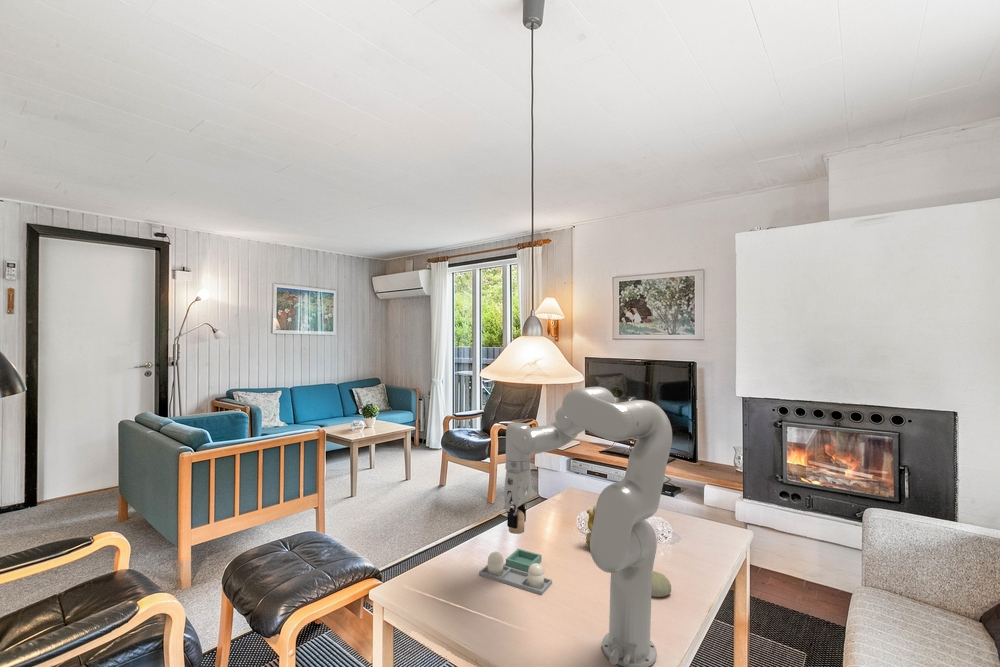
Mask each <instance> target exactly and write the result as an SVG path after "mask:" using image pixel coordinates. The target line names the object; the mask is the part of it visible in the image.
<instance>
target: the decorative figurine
mask: <svg viewBox="0 0 1000 667" xmlns="http://www.w3.org/2000/svg"><path fill="white" fill-rule="evenodd" d="M595 509H596V504H595V505H594V506H593V507H592V509H591V508H589V509H587V510H586V514H588V519H587V526H588V527H587V528H588V530H589V532H587V533H586V536H585V539H586V540H585V544H586V545H587V546H588V547H589V548H590V537H591V531H592V526H593V520H594V515H595Z"/></svg>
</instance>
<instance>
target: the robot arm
mask: <svg viewBox="0 0 1000 667" xmlns="http://www.w3.org/2000/svg"><path fill="white" fill-rule="evenodd" d="M562 399H563V400H562V404H561V406H560V407H558V409H557V410H556V412H555V421H553V422H552V423H550V424H545V425H540V426H539V425H538V426H534V427H531V425H529V424H528V423H525V422H512V423H508V424H507V426H506V429H505V430H506V431H505V467H504V469H505V470H506V472H505V478H504V489H503V492H504V493H503V500H504V505H503V509H504V510H505V511H506V515H507V517H506V518H507V519H506V520H507V521H506V524H507V527H508V528H509V527H511V528H515V529H516V528H517V527H518V515H516V514H517V509H519V510H521V511H522V512H523V513H524V516H525V522H526V521H527V520H526V519H527V517H526V516H527V515H526V514H527V513H526V512H527V505H528V504H527V502H528V501H529V500H530V499H531V498H532V471H531V456H534V455H537V454H541V453H542V454H543V453H546V452H552V451H555V450H558V449H560V448H562V447H564V446H566V445H567V444H569V443H571V442H573V441H574V440H575V439H576V438H577V437H578V435H579V434H581V433H582V432H584V431H587V432H590V433H592V434H593V435H596V436H598V437H601V438H603V439H605V440H608V441H612V442H622V441H626V440H630V439H635V438H636V442H635V444H634V446H633V448H632V449H631V451H630V453H629V455H628V456H629V457H628V460H627V466H626V470H625V474H624V476H623V478H622V479H621V480H620V481H616V482H613V483H611V484H609V485H607V486H606V487H604V488H603V489H602V491H601V492H600V494H599V496H598V498H597V501H596V504H595V505H596V509H595V515H594V520H593V526H592V531H591V537H590V547H589V551H590V555H591V558H592V560H593V563H594V564H595V565H596V567H597V568H598V569H599V570H601V571H603V572H604V573H609V574H610V581H609V583H610V585H609V586H610V587H609V616H608V617H609V622H608V623H609V624H608V626H609V627H608V633H606V634H605V635H604V636H603V638H602V641H601V647H602V651H603V653H604V654H605V656H606V657H607V658H608V660H609V663H611V665H614V666H615V665H619V666H621V667H650V666H652V665H654V664H655V662H656V660H657V658H658V657H657V655H658V652H657V648H656V646H655V644H654V643H653V642H652V641H651V625H652V624H651V623H652V622H651V618H652V596H651V591H652V572H653V570H654V564H655V559H656V555H657V549H658V548H657V546H658V542H657V540H658V539H657V534H656V532H655V530H654V528H653V527H652V526H653V525H651V524H650V523H649V522H648V521H647V519H649V518H651V517H652V516H654V515H655V514H656V513H657V511H658V509H659V506H660V502H661V496H662V491H663V487H664V480H665V475H666V470H667V464H668V460H669V456H670V453H671V448H672V444H673V429H672V425H671V421H670V418H668V415H667V414H666V413H665V411H664V410H663V409H662V407H660V406H659V405H657V404H656V403H654V402H653V401H650V400H646V399H635V400H629V401H624V402H623V401H622V402H616V399H615V396H614V394H613V393H612V392H611V391H610V390H609V389H607V388H605V387H603V386H589V387H581V388H580V387H579V388H573V389H571V390H570V391H568V392H567V393H566V394H565V395H564V397H563V398H562Z"/></svg>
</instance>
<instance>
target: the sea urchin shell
mask: <svg viewBox="0 0 1000 667" xmlns="http://www.w3.org/2000/svg"><path fill="white" fill-rule="evenodd" d="M671 593H672V584H671V581H670V580H669V579H668V577H667V576H666V575H665V574H663V573H661V572H658V571H653V572H652V591H651V597H655V598H657V597H658V598H662V597H666V596H669V595H670V594H671Z"/></svg>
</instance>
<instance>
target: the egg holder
mask: <svg viewBox="0 0 1000 667" xmlns="http://www.w3.org/2000/svg"><path fill="white" fill-rule="evenodd" d="M542 558H543V557H542V554H539V553H535V552H532V551H528V550H525V549H522V548H517V549H516V550H515V551H513V552H512V553H511V554H510V555H509V556H508V557H507V558H505V566H507V567H511V568H514V569H517V570H521V571H524V572H527V573H528V569H529V567H530V565H532V564H534V563H538V564H540V565H541V563H542Z"/></svg>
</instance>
